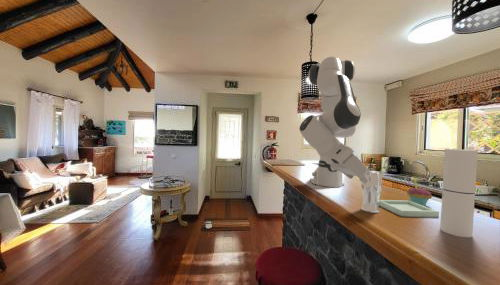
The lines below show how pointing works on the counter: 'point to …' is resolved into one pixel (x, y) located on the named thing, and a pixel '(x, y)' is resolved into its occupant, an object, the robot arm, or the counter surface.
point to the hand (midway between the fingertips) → (358, 179)
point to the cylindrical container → (458, 192)
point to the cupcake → (419, 195)
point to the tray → (408, 208)
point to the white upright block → (371, 191)
